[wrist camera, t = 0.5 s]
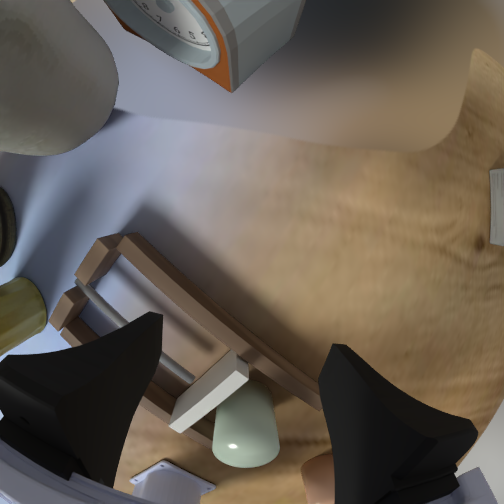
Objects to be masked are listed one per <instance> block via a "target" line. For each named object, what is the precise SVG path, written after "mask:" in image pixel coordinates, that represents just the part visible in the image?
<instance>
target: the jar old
mask: <svg viewBox="0 0 504 504" xmlns="http://www.w3.org/2000/svg"><path fill="white" fill-rule="evenodd" d="M212 450H213V453H214V455H215V456H216V458H218V459H219V460H220V461H221V462H223V463H225V464H227V465H230V466H234V467H240V468H251V467H258V466H261V465H264V464H267V463H269V462H270V461H272V460H273V459H274V458H275V457H276V456H277V455H278V453H279V450H280V445H279V438H278V432H277V425H276V419H275V412H274V406H273V399H272V394H271V392H270V390H269V389H268V388H267V387H266V386H265V385H264V384H262V383H260V382H258V381H255V380H250V379H249V380H248V381H246V382H245V383H244V384H243V385H242V386H241V387H239V388H238V389H237V390H236V391H235V392H233V393H232V394H231V395H230V396H228V397H227V398H226V399H225V400H224V401H222V402H221V403H220V404H219V405H217V410H216V418H215V427H214V436H213V445H212Z"/></svg>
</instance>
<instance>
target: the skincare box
mask: <svg viewBox="0 0 504 504" xmlns="http://www.w3.org/2000/svg"><path fill="white" fill-rule="evenodd" d="M489 173H490V188H491V231H490V243H491V244H495V245H500V246H504V168H501V169H494V170H490V171H489Z"/></svg>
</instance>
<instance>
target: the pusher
mask: <svg viewBox="0 0 504 504" xmlns="http://www.w3.org/2000/svg"><path fill="white" fill-rule="evenodd" d="M75 284H76V285H77V286H78V287H79V288H80V289H81V290H82V291H83V292H84V293H85V294H86V295H87V296H88V297H89V298H90V299H91V300H92V301H93V302H94V303H95V304H96V305H97V306H98V307H99V308H100V309H101V310H102V311H103V312H104V313H105V314H106V315H107V316H108V317H109V318H110V319H111V320H112V321H113V322H114V323H115V324H116V325H118V326H119V327H120V328H121V327H123V326H125V325H127V324H128V323H129V322H128V321H127V320H126V319H124V318H123V317H122V316H121V315H120V314H119V313H118V312H117V311H116V310H115V309H114V308H113V307H112V306H111V305H110V304H109V303H107V302H106V301H105V300H104V299H103V298H102V297H101V296H100V295H99V294H98V293H97V292H96V291H95V290H94V289H93V288H92V287H91V286H90V285H89V284H88V285H86V286H85V285H84V284H83V283H82V282H81V281H80V280H79V279H78V278H77V279H76V280H75ZM159 361H160V362H161V363H162V364H164V365H165V366H166V367H167V368H169V369H170V370H171V371H173V372H174V373H175V374H177V375H178V376H179V377H181V378H182V379H183V380H185V381H186V382H187V383H189V384H190V383H192V382H193V380H194V379H195V376H194V375H193V374H191V373H190V372H189V371H187V370H186V369H185V368H183V367H182V366H181V365H179V364H178V363H177V362H175V361H174V360H173V359H172V358H170V357H169V356H168V355H167V354H165V353H164V352H163V351H162V354H161V357H160V360H159ZM248 380H249V369H248V362H247V361H246V360H244V359H243V358H242V357H241V356H239V355H238V354H237V353H235V352H234V351H233V350H230V351H229V352H228V353H227V354H226V355H225V356H224V357H222V358H221V359H220V360H219V361H218V362H217V363H216V364H215V365H214V366H213V367H212V368H211V369H209V370H208V371H207V372H206V373H205V374H204V375H203V376H202V377H201V378H200V379H198V380H197V381H196V382H195V383H194V384H193V385H192V386H191V387H189V388H188V389H187V390H186V391H185V392H184V393H183V394H182V395H180V396H179V397H178V398H177V400H176V403H175V407H174V410H173V413H172V416H171V419H170V423H169V427H171V428H172V429H174V430H175V431H177V432H179V433H182V432H183V431H184V430H186V429H187V428H188V427H190V426H191V425H193V424H194V423H195V422H197V421H198V420H199V419H201V418H202V417H203V416H204V415H206V414H207V413H208V412H210V411H211V410H212V409H213V408H215V407H216V406H217V405H219V404H220V403H221V402H222V401H224V400H225V399H226V398H227V397H228V396H230V395H231V394H232V393H233V392H235V391H236V390H237V389H238V388H239V387H241V386H242V385H243V384H244V383H245V382H246V381H248Z"/></svg>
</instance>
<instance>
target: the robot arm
mask: <svg viewBox="0 0 504 504" xmlns="http://www.w3.org/2000/svg"><path fill="white" fill-rule="evenodd" d="M162 330H163V315H162V314H158V313H154V312H150V311H149V312H148V313H146V314H144V315H142V316H140V317H139V318H137V319H135V320H134V321H132V322H130V323H128V324H127V325H125V326H123V327H121V328H119V329H117V330H115V331H113V332H111V333H109V334H107V335H105V336H103V337H101V338H99V339H96V340H94V341H91V342H88V343H85V344H83V345H80V346H76V347H72V348H68V349H64V350H60V351H55V352H49V353H41V354H29V355H7V356H6V357H5V358H4V359H3V360H2V361H1V362H0V410H1V412H2V414H3V415H4V417H3V418H2V419H1V420H0V497H2V498H3V499H4V500H6V501H7V502H8V503H10V504H200V498H201V495H203V494H205V493H207V492H210V491H212V490H214V489H216V486H215V485H214V484H212V483H209V482H207V481H205V480H203V479H201V478H198V477H196V476H194V475H192V474H190V473H188V472H186V471H184V470H182V469H180V468H179V467H177V466H175V465H173V464H171V463H169V462H168V461H165V460H162V461H160V462H158V463H157V464H155V465H153V466H152V467H150V468H148V469H147V470H145V471H143V472H141V473H140V474H138V475H136V476H134V477H133V478H131V479H130V482H131V483H133V484H135V487H134V490H133V493H132V495H130V494H127V493H124V492H121V491H118V490H115V489H113V486H114V481H115V476H116V472H117V468H118V464H119V460H120V456H121V452H122V449H123V446H124V442H125V439H126V436H127V433H128V430H129V427H130V424H131V421H132V418H133V416H134V413H135V411H136V409H137V407H138V405H139V403H140V401H141V399H142V397H143V395H144V393H145V391H146V389H147V387H148V385H149V383H150V381H151V379H152V377H153V375H154V373H155V371H156V368H157V365H158V363H159V360H160V357H161V354H162ZM318 382H319V392H320V399H321V403H322V407H323V411H324V415H325V419H326V423H327V427H328V431H329V434H330V439H331V444H332V452H333V462H334V478H335V502H334V504H498V503H497V501H496V498H495V497H494V495H493V493H492V491H491V489H490V487H489V485H488V483H487V481H486V479H485V477H484V475H483V473H482V472H481V470H480V468H479V467H477V468H475V469H472V470H470V471H468V472H466V473H464V474H462V475H460V476H459V477H457V478H456V476H455V474H454V473H455V472H456V471H457V470H458V468H457V466H456V464H455V463H456V462H457V461H458V460H459V459H460V458H461V457H462V456H463V455H464V454H465V453H466V452H467V451H468V450H469V449H470V448H471V447H472V445H473V444H474V443H475V441H476V439H477V436H478V431H477V429H476V428H475V426H474V425H473V423H472V422H471V420H469V419H466V418H462V417H458V416H455V415H451V414H448V413H445V412H442V411H440V410H437V409H435V408H432V407H430V406H428V405H426V404H424V403H422V402H420V401H418V400H416V399H414V398H413V397H411V396H409V395H408V394H406V393H405V392H403V391H401V390H400V389H398V388H397V387H396V386H394V385H393V384H391V383H390V382H389V381H388V380H386V379H385V378H384V377H383V376H381V375H380V374H379V373H378V372H377V371H375V370H374V369H373V368H372V367H371V366H370V365H369V364H367V363H366V362H365V361H364V360H363V359H362V358H361V357H360V356H359V355H357V354H356V353H355V352H354V351H353V350H352V349H351V348H349V347H348V346H347V345H344V344H334V343H333V344H332V347H331V349H330V352H329V354H328V357H327V359H326V361H325V364H324V366H323V369H322V371H321V373H320V376H319V378H318Z"/></svg>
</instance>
